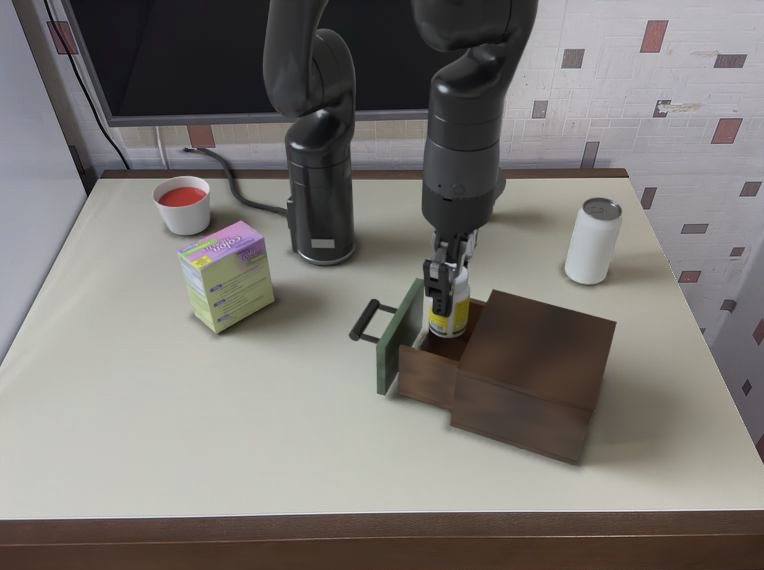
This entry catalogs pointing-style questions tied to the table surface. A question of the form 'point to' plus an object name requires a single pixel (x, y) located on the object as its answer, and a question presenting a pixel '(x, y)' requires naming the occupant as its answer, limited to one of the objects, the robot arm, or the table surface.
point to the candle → (184, 204)
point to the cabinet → (532, 375)
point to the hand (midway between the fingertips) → (449, 299)
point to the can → (593, 240)
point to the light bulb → (500, 184)
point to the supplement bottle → (453, 310)
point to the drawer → (416, 367)
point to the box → (227, 275)
